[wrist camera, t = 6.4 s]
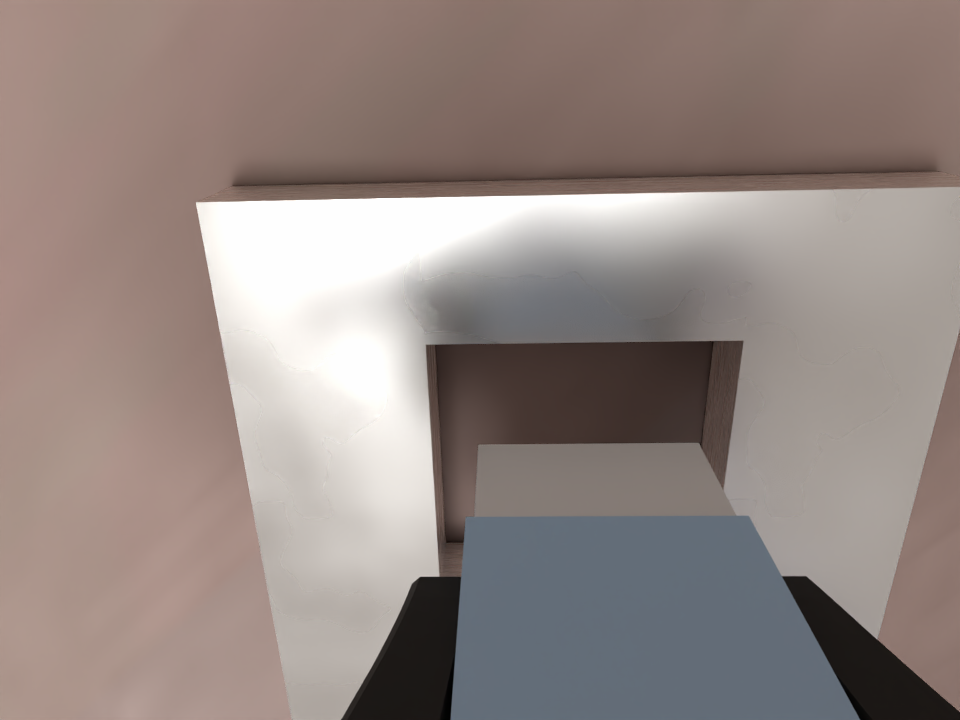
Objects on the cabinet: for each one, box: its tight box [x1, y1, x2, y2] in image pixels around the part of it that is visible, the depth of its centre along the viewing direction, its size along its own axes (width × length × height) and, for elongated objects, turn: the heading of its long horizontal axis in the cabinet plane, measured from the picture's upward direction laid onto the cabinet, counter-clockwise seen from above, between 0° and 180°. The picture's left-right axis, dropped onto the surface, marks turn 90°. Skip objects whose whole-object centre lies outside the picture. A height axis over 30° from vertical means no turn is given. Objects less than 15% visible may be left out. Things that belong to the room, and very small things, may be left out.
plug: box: [450, 443, 860, 720], centre depth 8 cm, size 4×4×7 cm
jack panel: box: [196, 171, 960, 720], centre depth 15 cm, size 12×20×2 cm, turn 1°
